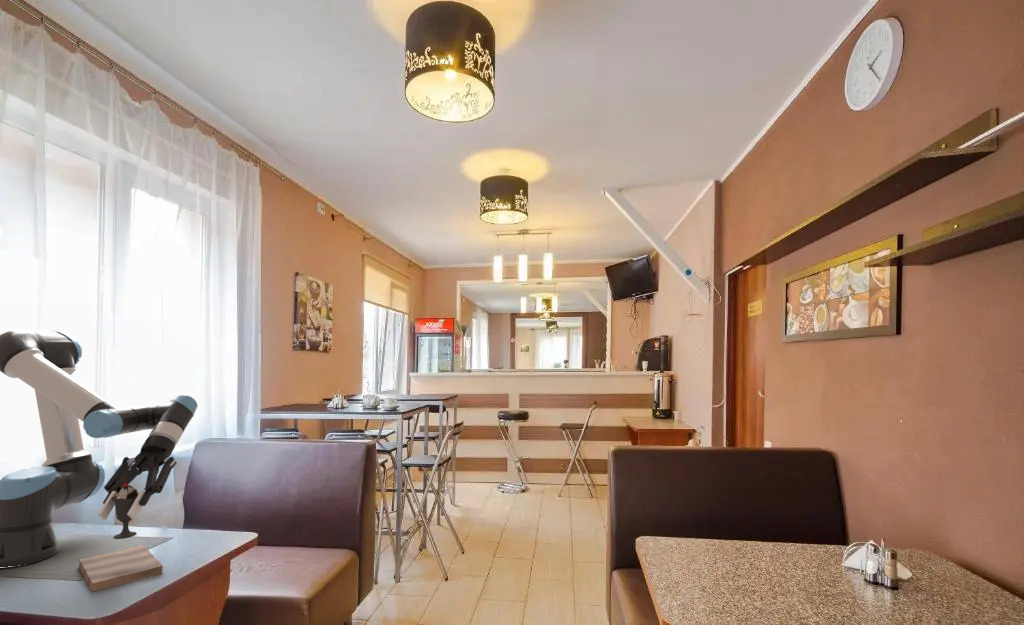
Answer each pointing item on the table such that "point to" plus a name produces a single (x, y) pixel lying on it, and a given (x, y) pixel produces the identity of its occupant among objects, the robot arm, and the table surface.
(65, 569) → the table surface
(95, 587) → the brown flat wooden slab
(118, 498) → the sundae
